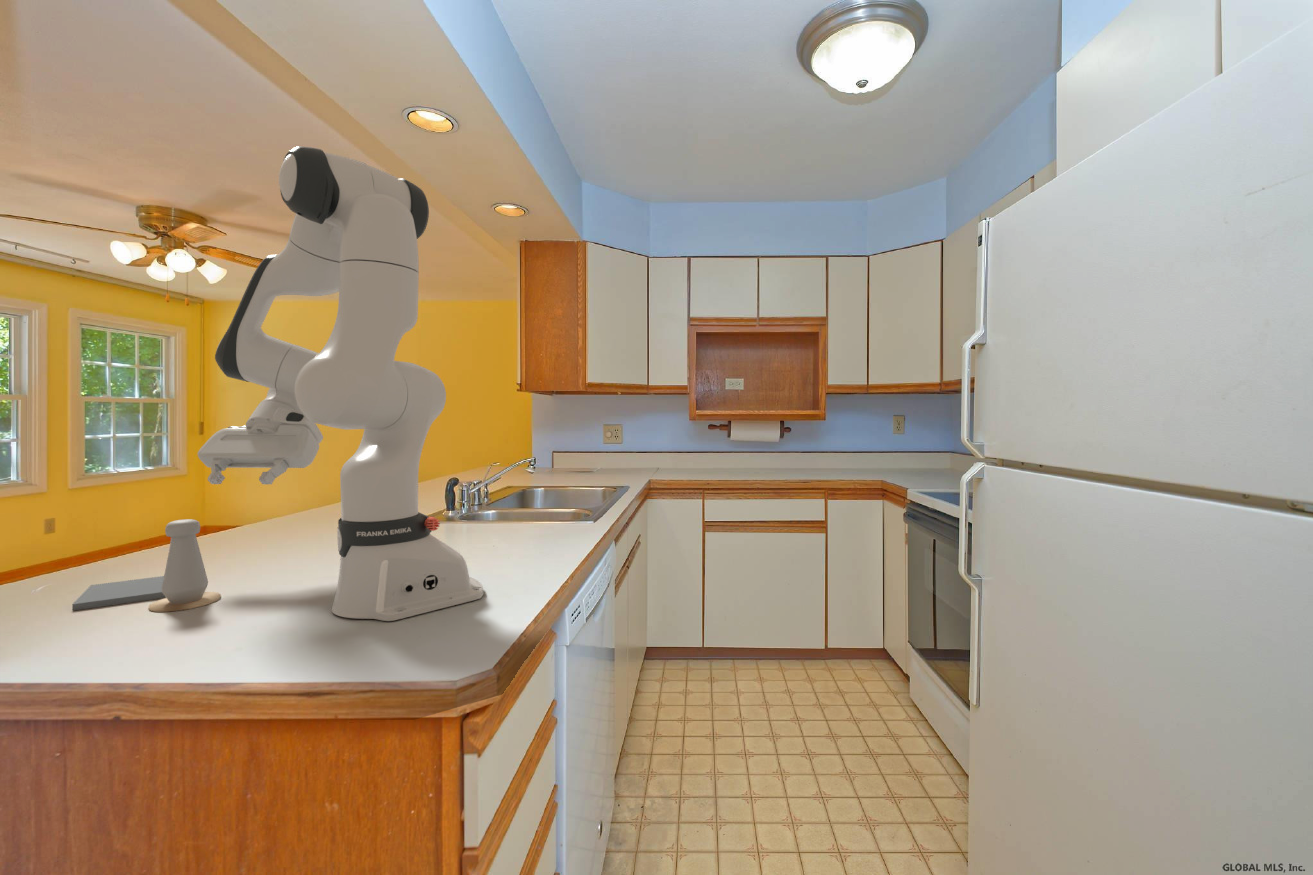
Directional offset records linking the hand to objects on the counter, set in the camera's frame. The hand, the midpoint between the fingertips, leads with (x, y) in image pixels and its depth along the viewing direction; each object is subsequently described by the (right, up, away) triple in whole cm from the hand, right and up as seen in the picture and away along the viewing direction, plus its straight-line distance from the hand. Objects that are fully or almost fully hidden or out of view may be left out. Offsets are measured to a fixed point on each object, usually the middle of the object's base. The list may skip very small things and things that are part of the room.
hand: (239, 482), depth 104 cm
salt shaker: (0, -18, -11) cm, 22 cm away
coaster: (0, -18, -11) cm, 22 cm away
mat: (-13, -18, -7) cm, 24 cm away
